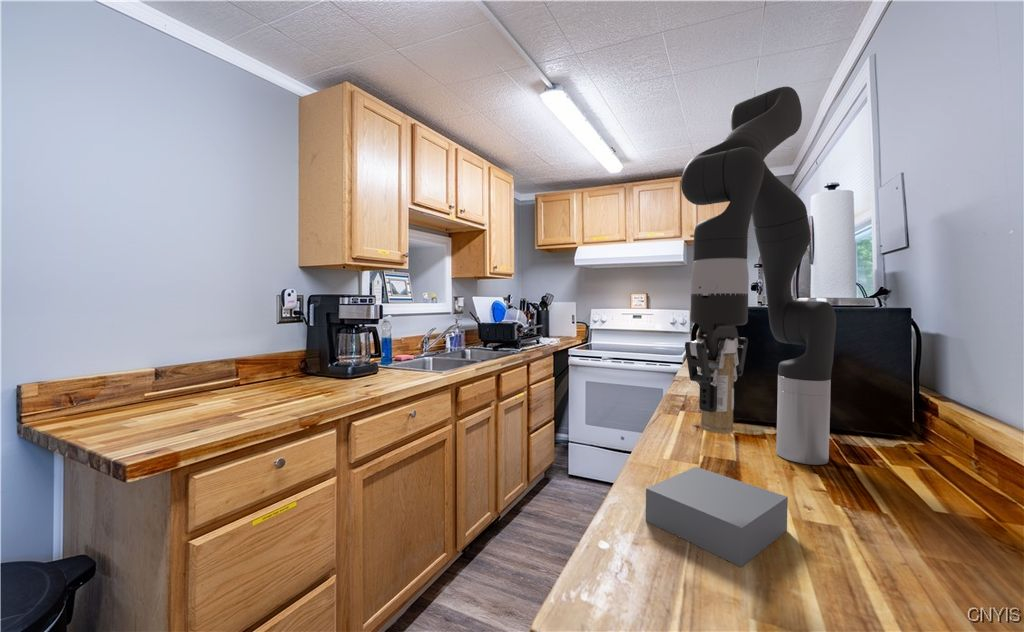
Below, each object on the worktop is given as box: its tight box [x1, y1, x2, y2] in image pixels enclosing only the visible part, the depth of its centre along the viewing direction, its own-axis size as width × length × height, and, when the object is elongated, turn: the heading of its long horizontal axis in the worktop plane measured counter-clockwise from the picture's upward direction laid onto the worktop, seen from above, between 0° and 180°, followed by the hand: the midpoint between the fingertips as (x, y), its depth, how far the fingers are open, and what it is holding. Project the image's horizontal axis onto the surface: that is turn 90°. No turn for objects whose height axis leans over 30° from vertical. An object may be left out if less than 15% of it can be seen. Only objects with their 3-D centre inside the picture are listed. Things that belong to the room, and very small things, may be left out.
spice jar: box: [699, 339, 736, 435], centre depth 62 cm, size 5×5×13 cm
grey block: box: [645, 466, 789, 568], centre depth 63 cm, size 14×14×5 cm
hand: (716, 407), depth 62 cm, fingers closed on spice jar, 4 cm apart
